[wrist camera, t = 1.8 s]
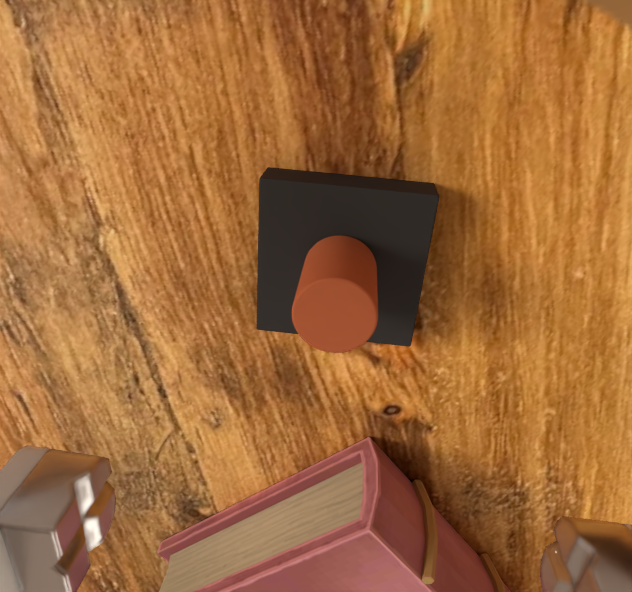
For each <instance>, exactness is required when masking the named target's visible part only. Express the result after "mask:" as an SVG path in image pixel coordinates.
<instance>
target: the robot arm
mask: <svg viewBox="0 0 632 592" xmlns="http://www.w3.org/2000/svg"><path fill="white" fill-rule="evenodd" d="M111 472H112V471H111V466H110V462H109V459H108V458H105V457H99V456H93V455H87V454H80V453H74V452H68V451H62V450H55V449H47V448H40V447H33V446H25V447H23V448H21V449H20V450H18V451H17V452H16V453H15V454H14V455H13V456H12V458H11V459H10V460H9V461H8V462H7V463H6V465H5V466H4V467H3V468H2V469H1V470H0V592H76V591H77V590H78V588H79V586H80V584H81V582H82V580H83V578H84V576H85V575H86V573H87V571H88V569H89V567H90V565H91V564H90V559H89V553H88V552H89V551H91V550H92V549H94V548H95V547H96V546H98V545H99V544H101V543H102V542H103V541H104V539H105V537H106V535H107V533H108V531H109V529H110V526H111V523H112V520H113V516H114V513H115V505H116V495H115V489H114V488H113V487H112V486H111V485H110V484H109V483H108V482H107V479H108V477H109V476H110V474H111ZM553 531H554V534H555V537H556V540H557V541H555V542H553V543H552V544H550V545H548V546H546V548H545V551H544V553H543V556H542V559H541V571H540V577H541V584H542V590H543V592H632V525H629V524H620V523H616V522H608V521H599V520H591V519H582V518H574V517H565V516H563V517H562V518H560V519H559V520H558V521H557V523H556V525H555V527H554V529H553Z"/></svg>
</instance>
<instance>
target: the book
mask: <svg viewBox="0 0 632 592" xmlns="http://www.w3.org/2000/svg"><path fill="white" fill-rule="evenodd" d="M157 553H158V554H159V555H160V556H162V557H163V558H164V559H165V560H167V561H168V562H169V564H168V569H167V572H166V575H165V578H164V580H163V583H162V586H161V588H160V591H159V592H511V590H510V589H509V588H508V587H507V586H506V585H505V584H504V583H503V582H502V580H501V578H500V576H499V574H498V572H497V570H496V568H495V566H494V565H493V563H492V561H491V559H490V557H489V556H488V554H481V555H480V556H478V555H477V553H476V552H475V551H474V550H473V549H472V548H471V547H470V546H469V545H468V544H467V543H466V541H465V540H464V539H463V538H462V537H461V536H460V535H459V534H458V533H457V532H456V531H455V529H454V528H453V527H452V526H451V525H450V524H449V523H448V522H447V521H446V520H445V519H444V517H443V516H442V515H441V514H440V513H439V512H438V511H437V510H436V509H435V508H434V507H433V505H432V503H431V501H430V498H429V496H428V494H427V492H426V489H425V487H424V485H423V483H422V482H421V480H414V481H413V482H412V483H411V482H410V480H409V479H408V478H407V477H406V476H405V475H404V474H403V473H402V472H401V471H400V470H399V468H398V467H397V466H396V465H395V464H394V463H393V462H392V461H391V460H390V459H389V458H388V456H387V455H386V454H385V453H384V452H383V451H382V450H381V449H380V448H379V447H378V446H377V444H376V443H375V442H374V441H373V440H372V439H371V438H370V437H368V438H366V439H364V440H362V441H360V442H358V443H356V444H354V445H352V446H350V447H348V448H346V449H344V450H342V451H340V452H338V453H336V454H334V455H332V456H330V457H328V458H326V459H324V460H322V461H320V462H318V463H316V464H314V465H312V466H310V467H308V468H306V469H304V470H302V471H300V472H298V473H296V474H294V475H292V476H290V477H288V478H286V479H284V480H282V481H280V482H278V483H276V484H274V485H272V486H270V487H268V488H267V489H265V490H263V491H261V492H259V493H257V494H255V495H253V496H251V497H249V498H247V499H245V500H243V501H241V502H239V503H237V504H235V505H233V506H231V507H229V508H227V509H225V510H223V511H221V512H219V513H217V514H215V515H213V516H211V517H209V518H207V519H205V520H203V521H201V522H199V523H197V524H195V525H193V526H191V527H189V528H187V529H185V530H183V531H181V532H179V533H177V534H175V535H173V536H171V537H169V538H167V539H165V540H164V541H162V542H161V544H160V547H159V549H158V552H157Z"/></svg>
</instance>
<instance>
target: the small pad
mask: <svg viewBox="0 0 632 592" xmlns="http://www.w3.org/2000/svg"><path fill="white" fill-rule="evenodd" d="M438 201H439V194H438V192H437V189H436V187H435V184H434V183H424V182H414V181H404V180H393V179H383V178H373V177H362V176H352V175H341V174H331V173H321V172H310V171H300V170H289V169H279V168H267V169H266V171H265V172H264V173H263V175H262V176H261V178H260V184H259V234H258V285H257V329H258V330H267V331H276V332H284V333H293V334H299V335H300V336H301V338H302V339H303V340H304V341H305V342H307V343H308V344H309V345H311V346H313V347H315V348H317V349H319V350H322V351H326V352H334V353H339V352H347V351H350V350H353V349H356V348H358V347H359V346H361V345H362V344H364V343H365V342H374V343H383V344H392V345H401V346H410V345H411V341H412V336H413V331H414V326H415V320H416V315H417V310H418V305H419V300H420V294H421V289H422V284H423V279H424V274H425V268H426V263H427V258H428V253H429V248H430V242H431V237H432V232H433V227H434V222H435V216H436V211H437V206H438Z"/></svg>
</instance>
